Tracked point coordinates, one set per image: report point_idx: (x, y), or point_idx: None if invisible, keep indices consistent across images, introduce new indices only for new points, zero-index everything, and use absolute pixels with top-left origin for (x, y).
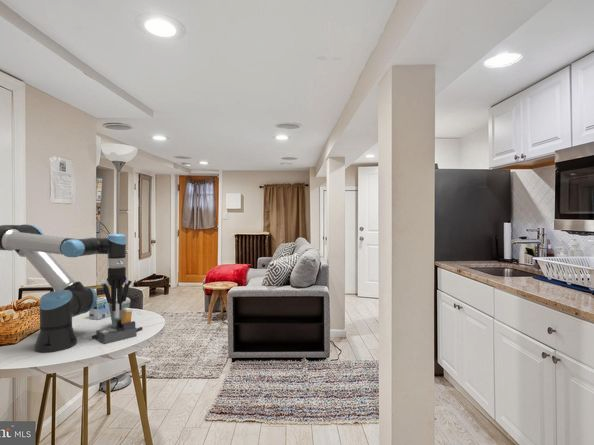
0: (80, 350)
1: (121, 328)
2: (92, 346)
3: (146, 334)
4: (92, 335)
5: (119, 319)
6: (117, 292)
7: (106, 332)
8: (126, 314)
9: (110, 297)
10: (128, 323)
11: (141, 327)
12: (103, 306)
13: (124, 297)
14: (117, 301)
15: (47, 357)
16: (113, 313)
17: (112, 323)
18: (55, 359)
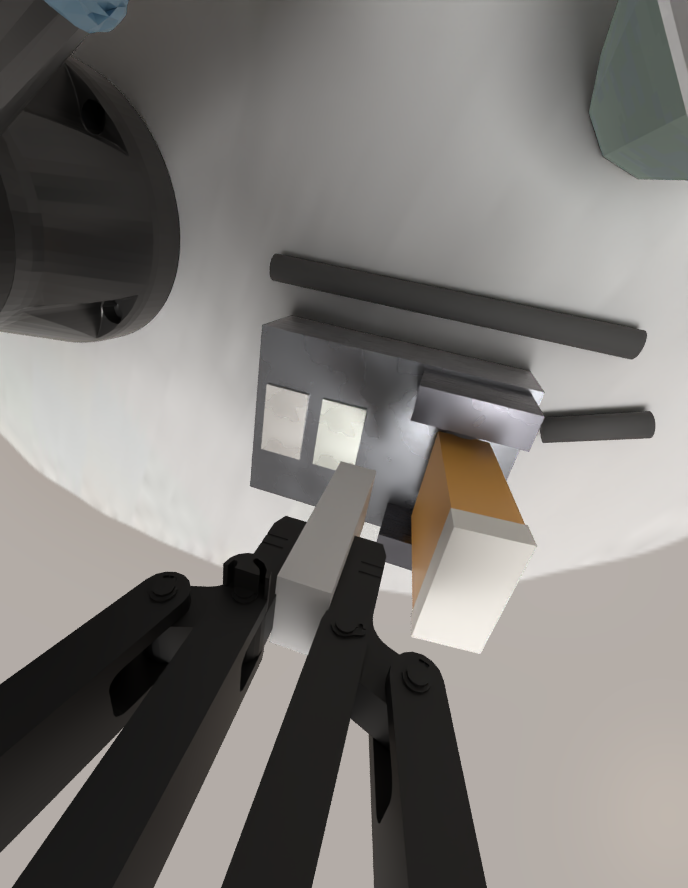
0: (156, 430)
1: (406, 464)
2: (217, 429)
3: (539, 540)
4: (271, 269)
5: (642, 158)
6: (228, 876)
7: (280, 453)
8: (412, 589)
9: (99, 742)
10: (407, 566)
11: (644, 436)
12: None
13: (386, 797)
14: (319, 633)
15: (29, 379)
16: (623, 54)
17: (603, 49)
18: (55, 438)
